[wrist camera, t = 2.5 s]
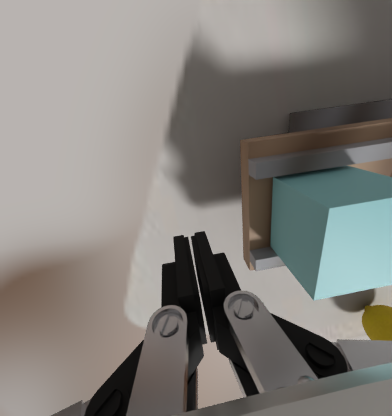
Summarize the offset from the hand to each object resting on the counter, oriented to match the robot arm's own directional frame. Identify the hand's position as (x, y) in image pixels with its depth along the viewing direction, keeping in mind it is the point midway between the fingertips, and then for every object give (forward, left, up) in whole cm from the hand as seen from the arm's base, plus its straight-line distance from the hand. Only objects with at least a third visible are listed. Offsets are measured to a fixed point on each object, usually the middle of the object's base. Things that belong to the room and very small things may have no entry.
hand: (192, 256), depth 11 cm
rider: (-8, 0, -3) cm, 9 cm away
